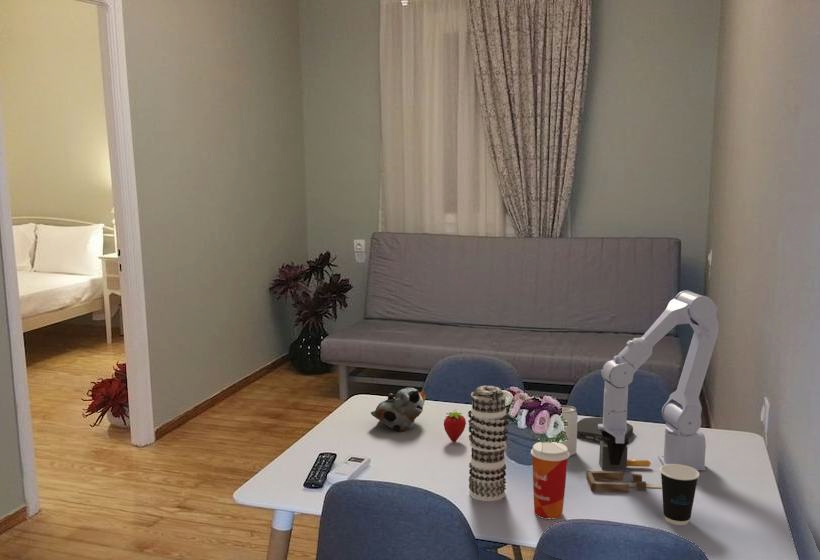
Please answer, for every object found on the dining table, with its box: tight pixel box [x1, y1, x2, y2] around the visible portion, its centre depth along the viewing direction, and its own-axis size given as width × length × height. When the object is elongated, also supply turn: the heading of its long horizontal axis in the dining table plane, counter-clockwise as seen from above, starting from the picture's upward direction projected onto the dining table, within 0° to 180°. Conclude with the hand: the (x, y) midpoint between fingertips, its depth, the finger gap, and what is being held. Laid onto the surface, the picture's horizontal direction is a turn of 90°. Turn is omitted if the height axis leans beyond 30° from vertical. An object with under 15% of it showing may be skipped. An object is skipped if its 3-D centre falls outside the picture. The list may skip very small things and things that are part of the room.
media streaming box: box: [577, 416, 634, 444], centre depth 208 cm, size 15×15×3 cm
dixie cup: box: [659, 464, 701, 526], centre depth 156 cm, size 8×8×11 cm
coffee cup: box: [530, 441, 571, 520], centre depth 158 cm, size 8×8×15 cm
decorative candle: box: [467, 385, 510, 502], centre depth 168 cm, size 9×9×25 cm
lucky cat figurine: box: [370, 387, 426, 432], centre depth 214 cm, size 15×12×14 cm
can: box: [559, 404, 578, 457], centre depth 194 cm, size 6×6×12 cm
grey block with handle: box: [598, 441, 652, 472], centre depth 184 cm, size 12×4×6 cm, turn 86°
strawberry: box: [443, 410, 467, 443], centre depth 201 cm, size 6×8×10 cm
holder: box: [585, 470, 662, 493], centre depth 174 cm, size 17×8×2 cm, turn 86°
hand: (612, 460), depth 185 cm, fingers closed on grey block with handle, 4 cm apart
